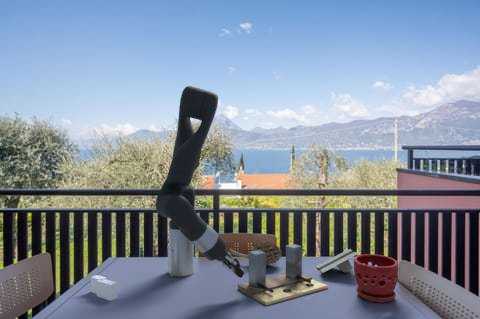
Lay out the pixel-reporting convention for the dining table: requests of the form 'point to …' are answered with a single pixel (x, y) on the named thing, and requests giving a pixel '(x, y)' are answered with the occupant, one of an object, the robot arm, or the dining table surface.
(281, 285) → the base
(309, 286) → the bolt plate
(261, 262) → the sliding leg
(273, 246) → the pine cone
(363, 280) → the plant pot
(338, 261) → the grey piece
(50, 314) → the dining table surface
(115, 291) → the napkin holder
